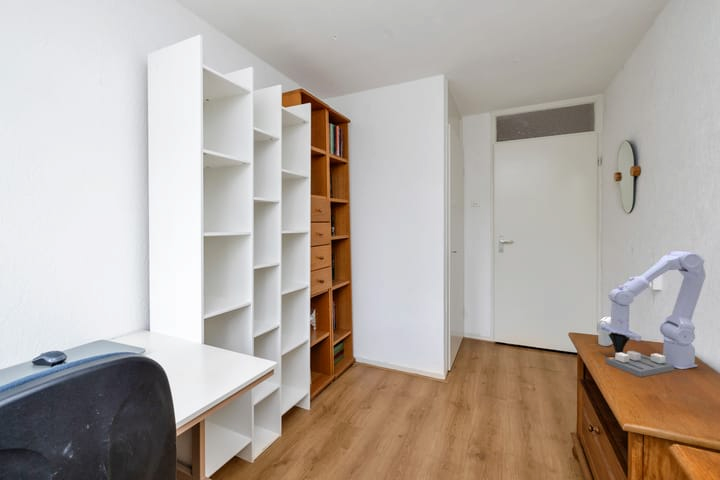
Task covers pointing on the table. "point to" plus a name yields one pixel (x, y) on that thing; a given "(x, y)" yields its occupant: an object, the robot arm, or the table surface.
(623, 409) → the table surface
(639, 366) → the switch panel
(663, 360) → the switch
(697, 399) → the table surface
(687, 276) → the robot arm
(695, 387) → the table surface
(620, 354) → the switch
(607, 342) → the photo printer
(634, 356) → the switch middle
